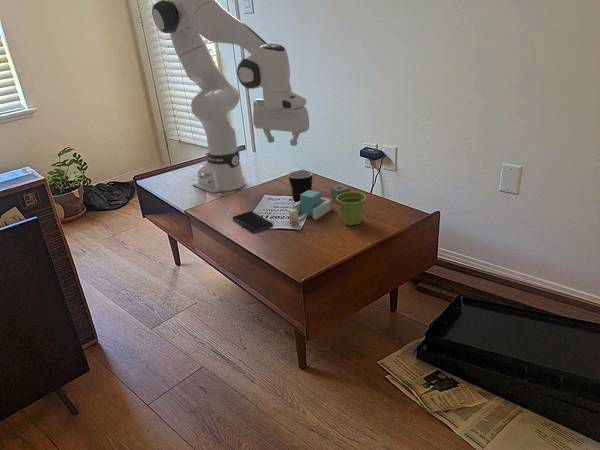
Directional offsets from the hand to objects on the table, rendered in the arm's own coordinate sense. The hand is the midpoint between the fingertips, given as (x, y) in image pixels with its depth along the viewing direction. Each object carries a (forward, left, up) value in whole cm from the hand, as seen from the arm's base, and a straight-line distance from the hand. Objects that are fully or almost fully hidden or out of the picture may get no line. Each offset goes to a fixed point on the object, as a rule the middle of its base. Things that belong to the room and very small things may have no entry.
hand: (282, 143), depth 156 cm
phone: (-7, -11, -26) cm, 29 cm away
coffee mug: (-4, +14, -25) cm, 29 cm away
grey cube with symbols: (+9, +19, -25) cm, 33 cm away
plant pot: (+22, +5, -25) cm, 34 cm away
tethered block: (+6, +1, -25) cm, 26 cm away
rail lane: (+6, +6, -25) cm, 26 cm away
